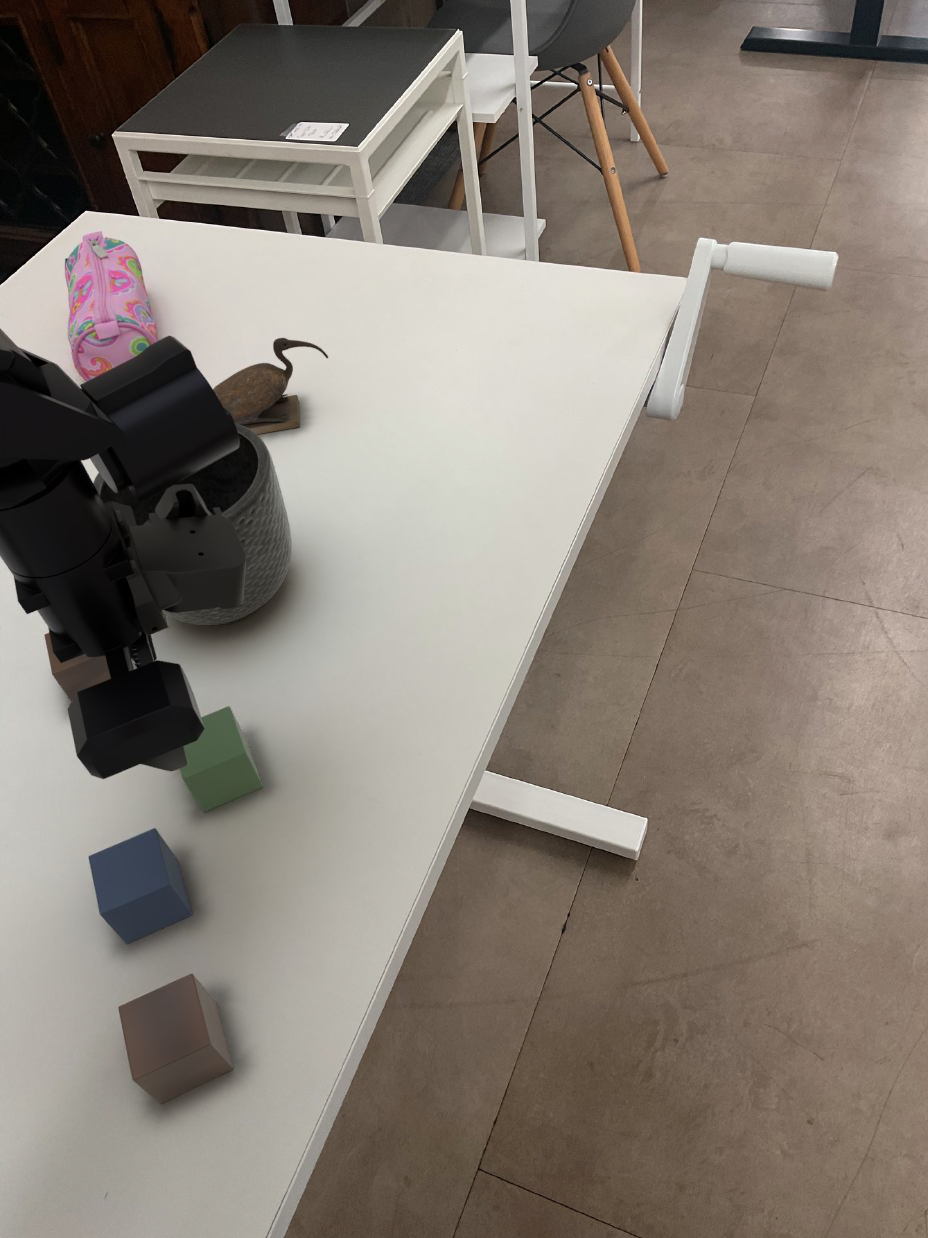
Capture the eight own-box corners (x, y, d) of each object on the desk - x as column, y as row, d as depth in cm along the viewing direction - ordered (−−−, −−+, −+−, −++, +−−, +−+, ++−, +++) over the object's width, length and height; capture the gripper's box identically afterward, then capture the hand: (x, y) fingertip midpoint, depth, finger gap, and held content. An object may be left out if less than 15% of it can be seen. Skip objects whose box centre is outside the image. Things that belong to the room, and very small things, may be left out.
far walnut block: (76, 709, 79) (51, 674, 76) (67, 669, 82) (43, 634, 78) (131, 687, 80) (110, 651, 76) (121, 648, 83) (100, 612, 79)
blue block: (126, 945, 65) (99, 915, 62) (114, 887, 68) (87, 856, 65) (193, 915, 66) (170, 884, 63) (177, 859, 69) (155, 827, 66)
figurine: (340, 393, 102) (321, 318, 96) (342, 420, 99) (322, 345, 93) (204, 417, 102) (175, 343, 96) (202, 444, 99) (172, 371, 93)
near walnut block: (160, 1104, 59) (132, 1081, 55) (145, 1033, 61) (117, 1006, 58) (234, 1069, 59) (210, 1044, 56) (215, 1000, 62) (192, 972, 59)
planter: (343, 564, 86) (307, 446, 76) (235, 679, 79) (181, 566, 69) (224, 514, 92) (177, 399, 82) (114, 617, 85) (49, 504, 75)
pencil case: (80, 308, 119) (47, 236, 113) (155, 288, 120) (127, 216, 114) (88, 410, 105) (51, 335, 99) (174, 386, 106) (143, 311, 100)
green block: (203, 813, 71) (182, 779, 68) (189, 765, 74) (168, 730, 71) (263, 787, 72) (245, 752, 69) (247, 740, 75) (229, 705, 72)
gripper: (252, 597, 48) (327, 772, 59) (170, 391, 60) (246, 571, 71) (19, 688, 46) (144, 851, 57) (-18, 457, 58) (92, 631, 69)
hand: (163, 711), depth 64 cm, fingers open, 9 cm apart
